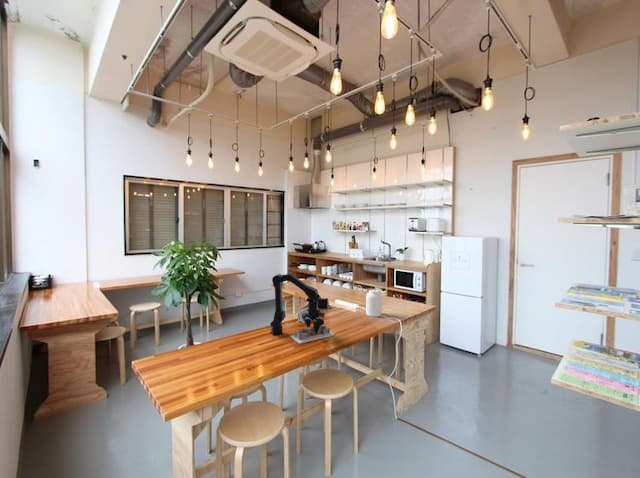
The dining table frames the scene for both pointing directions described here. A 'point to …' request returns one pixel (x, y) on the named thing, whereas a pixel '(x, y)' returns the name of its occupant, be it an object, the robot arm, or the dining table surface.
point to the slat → (312, 330)
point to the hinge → (301, 315)
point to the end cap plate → (303, 337)
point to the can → (374, 303)
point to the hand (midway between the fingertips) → (312, 331)
